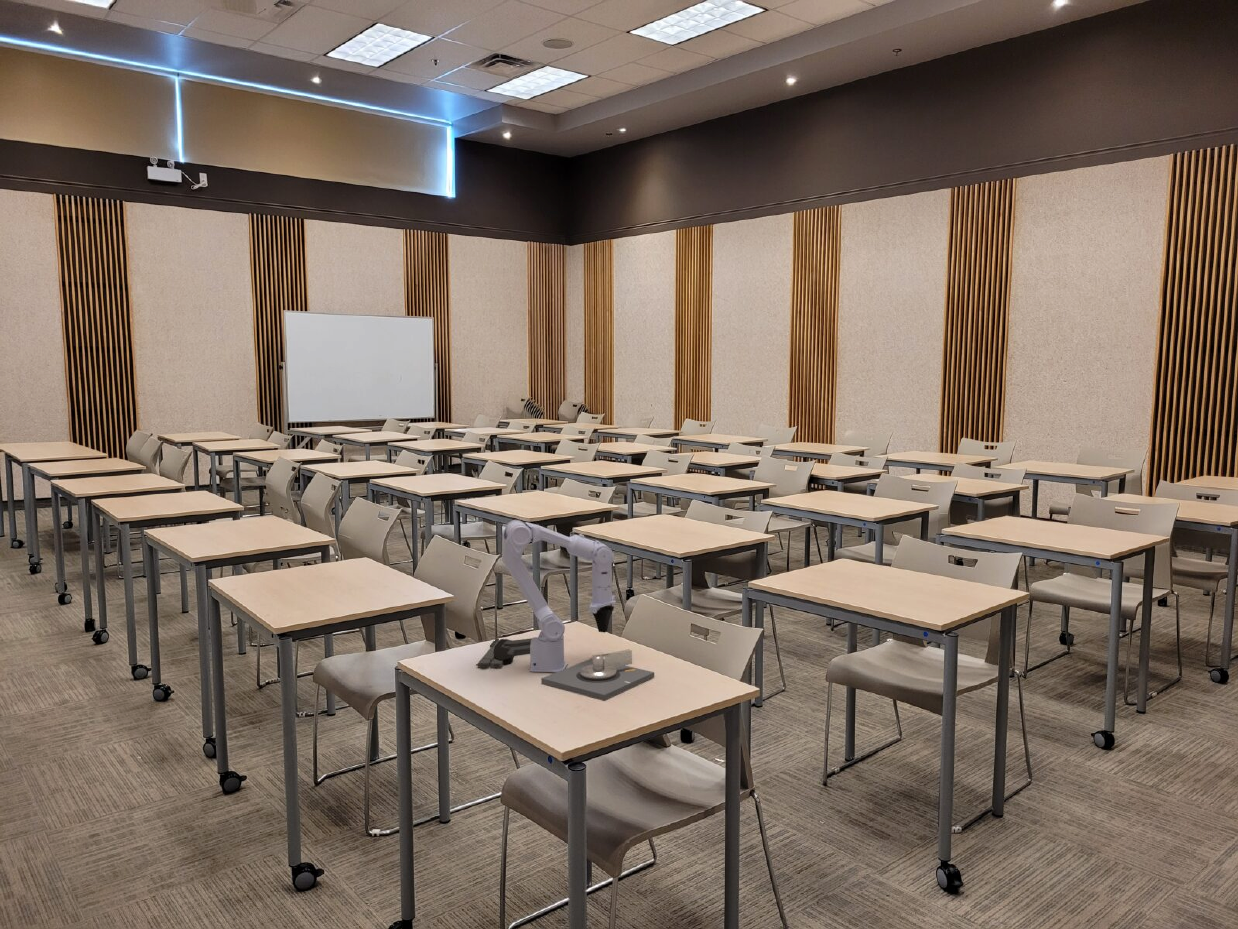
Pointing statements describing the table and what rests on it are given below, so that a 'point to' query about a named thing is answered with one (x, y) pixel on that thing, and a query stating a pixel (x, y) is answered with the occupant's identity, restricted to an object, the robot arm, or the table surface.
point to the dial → (606, 665)
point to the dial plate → (597, 681)
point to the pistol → (504, 652)
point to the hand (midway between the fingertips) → (602, 631)
